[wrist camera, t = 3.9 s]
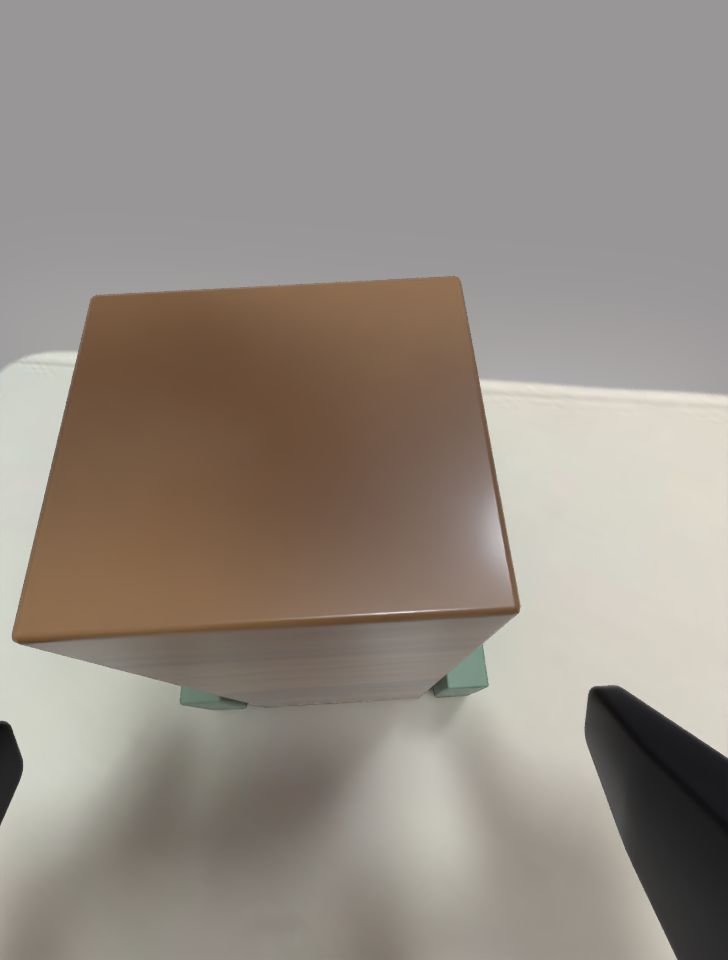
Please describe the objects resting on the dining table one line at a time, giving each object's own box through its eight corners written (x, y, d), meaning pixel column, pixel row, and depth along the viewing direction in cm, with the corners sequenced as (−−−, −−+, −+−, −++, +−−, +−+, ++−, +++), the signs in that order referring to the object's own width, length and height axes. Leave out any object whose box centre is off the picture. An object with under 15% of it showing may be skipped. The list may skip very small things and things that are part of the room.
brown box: (420, 698, 18) (524, 613, 6) (261, 707, 18) (4, 643, 6) (407, 559, 20) (461, 272, 8) (265, 567, 20) (88, 292, 8)
